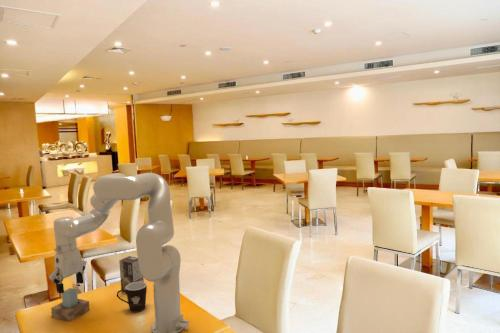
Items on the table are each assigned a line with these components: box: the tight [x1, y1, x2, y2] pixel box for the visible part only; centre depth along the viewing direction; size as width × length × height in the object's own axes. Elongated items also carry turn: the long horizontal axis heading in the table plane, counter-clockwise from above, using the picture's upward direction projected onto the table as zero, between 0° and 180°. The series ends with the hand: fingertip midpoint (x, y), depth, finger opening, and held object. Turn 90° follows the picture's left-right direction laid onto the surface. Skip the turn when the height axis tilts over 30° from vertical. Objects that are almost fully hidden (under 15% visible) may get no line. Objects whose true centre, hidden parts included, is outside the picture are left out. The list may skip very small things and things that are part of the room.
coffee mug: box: [116, 282, 148, 313], centre depth 155 cm, size 12×9×10 cm
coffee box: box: [118, 255, 145, 295], centre depth 170 cm, size 9×6×16 cm
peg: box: [61, 287, 79, 308], centre depth 152 cm, size 4×4×10 cm
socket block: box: [50, 298, 91, 322], centre depth 152 cm, size 10×10×4 cm
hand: (70, 287), depth 151 cm, fingers open, 9 cm apart
